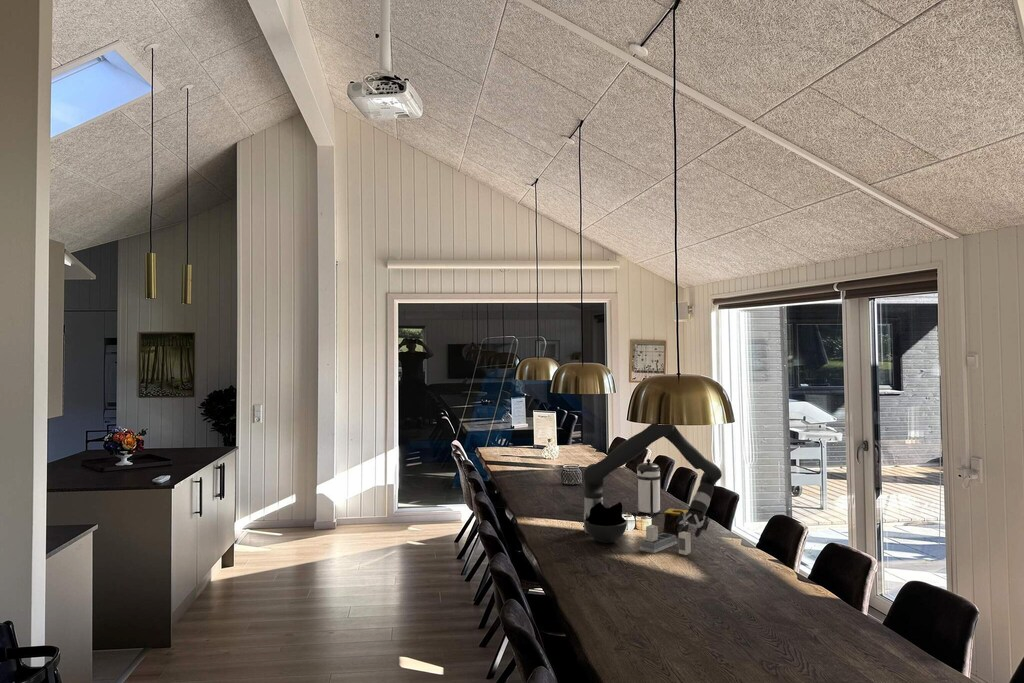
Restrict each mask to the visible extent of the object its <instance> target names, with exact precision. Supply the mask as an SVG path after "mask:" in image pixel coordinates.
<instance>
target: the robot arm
mask: <svg viewBox="0 0 1024 683" xmlns="http://www.w3.org/2000/svg"><path fill="white" fill-rule="evenodd" d="M661 438H665V439H666V440H667V441H669V442H670V443H671V444H672V445H673V446H674V447H675V448H676V449H677V450H678V452H679V453H680V454H681V455H682V457H683V458H684V459H685V460H686V461H687V462H688V464H690V465H691V466H692V467H693V468H694V469H695V470H701V471H703V473H702V474H701V477H700V482H699V485H698V486H697V489H696V492H695V494H694V495H693V499H692V500H691V503H690V505H689V507H688V512H687V513H683V511H681V512H680V514H679V516H678V518H677V520H676V522H677V523H678V525H679V526H678V529H677V531H678V533H680V532H682V529H683V526H685V525H688V524H690V525H695V526H696V525H697V527H696V529H695V532H694V537H696V538H698V537H700V536H701V533H702V531H707V529H708V526H709V523H710V517H709V516H708V515H706V513H707V511H708V509H709V507H710V503H711V500H712V497H713V495H714V491H715V489H714V487H715V485H716V484H717V482H719V480H720V479H721V478H722V471H721V469H720V467H718V466H717V464H715V463H713V462H712V461H710V460H709V459H707V458H706V457H705V456H703V454H702V453H701V452H700V451H699V450H698V449H697V448H696V447H695V446H694V445H693V444H691V443H690V441H689V440H688V439H686V438H685V436H683V434H682V433H681V432H680V430H679V429H678V428H677V427H676V425H675V424H674V425H658V424H652V423H651V424H650V425H648V426H647V427H646V428H644V429H643V430H641V431H640V432H638V433H637V434H634V435H633V436H631V437H629V438H628V439H626V440H625V441H623V442H622V443H620V444H619V445H617V446H616V447H615V448H614V449H613V450H611V452H610V453H608V454H607V455H606V456H605V457H604V458H602V459H601V460H599V461H598V462H596V463H590V464H588V466H586V467H585V469H584V472H583V480H584V490H583V491H584V492H583V493H584V499H583V501H584V503H583V504H584V511H583V521H584V520H585V519H586V518H588V517H589V515H590V509H591V508H592V507H594V506H595V504H597V503H599V502H601V503H602V504H603V505H604V479H605V478H606V477H607V476H608V475H609V474H610V473H612V472H614V471H615V470H617V469H619V468H621V467H622V466H625V465H626V464H628V463H629V462H630V461H633V460H635V459H636V458H637V457H638V456H639V455H641V454H642V453H643V452H644V451H645V450H646V449H648V447H649V446H650V445H651V444H653V443H655V442H656V441H657V440H659V439H661ZM685 516H686V517H685ZM683 518H684V519H683ZM686 520H687V522H686ZM702 521H703V524H702V523H701V522H702ZM583 531H584V533H585V534H589V533H588V532H587V530H586V528H585V524H584V523H583Z"/></svg>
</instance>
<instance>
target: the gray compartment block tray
mask: <svg viewBox="0 0 1024 683" xmlns="http://www.w3.org/2000/svg"><path fill="white" fill-rule="evenodd" d="M658 528H659V527H658V525H654V524H649V525H646V526H645V539H643V540H641V541H640V546H639V551H642V552H647V553H651V554H657V553H658V552H660V551H664V550H665V549H669V548H671V547H673V545H674V546H675V544H676V545H678V540H677V535H676V534H672V533H667V532H661V533H659V530H658ZM658 533H659V534H658Z"/></svg>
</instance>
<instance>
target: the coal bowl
mask: <svg viewBox="0 0 1024 683" xmlns="http://www.w3.org/2000/svg"><path fill="white" fill-rule="evenodd" d="M584 524H585V528H586V530H587V532H588V533H587V534H588V535H589V536H590V538H593V540H595V541H596V542H599V543H603V544H604V543H605V544H609V543H613V542H615V541H618V540H619V539H620V538H622V536H623V535H624V534H625V532H626V529H627V526H628V521H627V519H625V518H623V504H622V502H621V501H619V502H617V503H615V504H613V505H612V506H610V507H606V506H604V503H603V504H602V503H601V502H599V503H597V504H595V506H594V507H592V508H591V509H590V515H589V517H588V518H586V519H585V520H584V519H583V525H584Z"/></svg>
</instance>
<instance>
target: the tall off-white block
mask: <svg viewBox="0 0 1024 683" xmlns="http://www.w3.org/2000/svg"><path fill="white" fill-rule="evenodd" d="M691 535H692V534H691V532H688V531H687V532H684V531H683V532H680V533H679V534H678V554H679V555H684V556H687V555H689V554H691V553H692V552H691V550H692V549H691V548H692V547H691V545H692V544H691V541H692V540H691V538H692V536H691Z"/></svg>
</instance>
